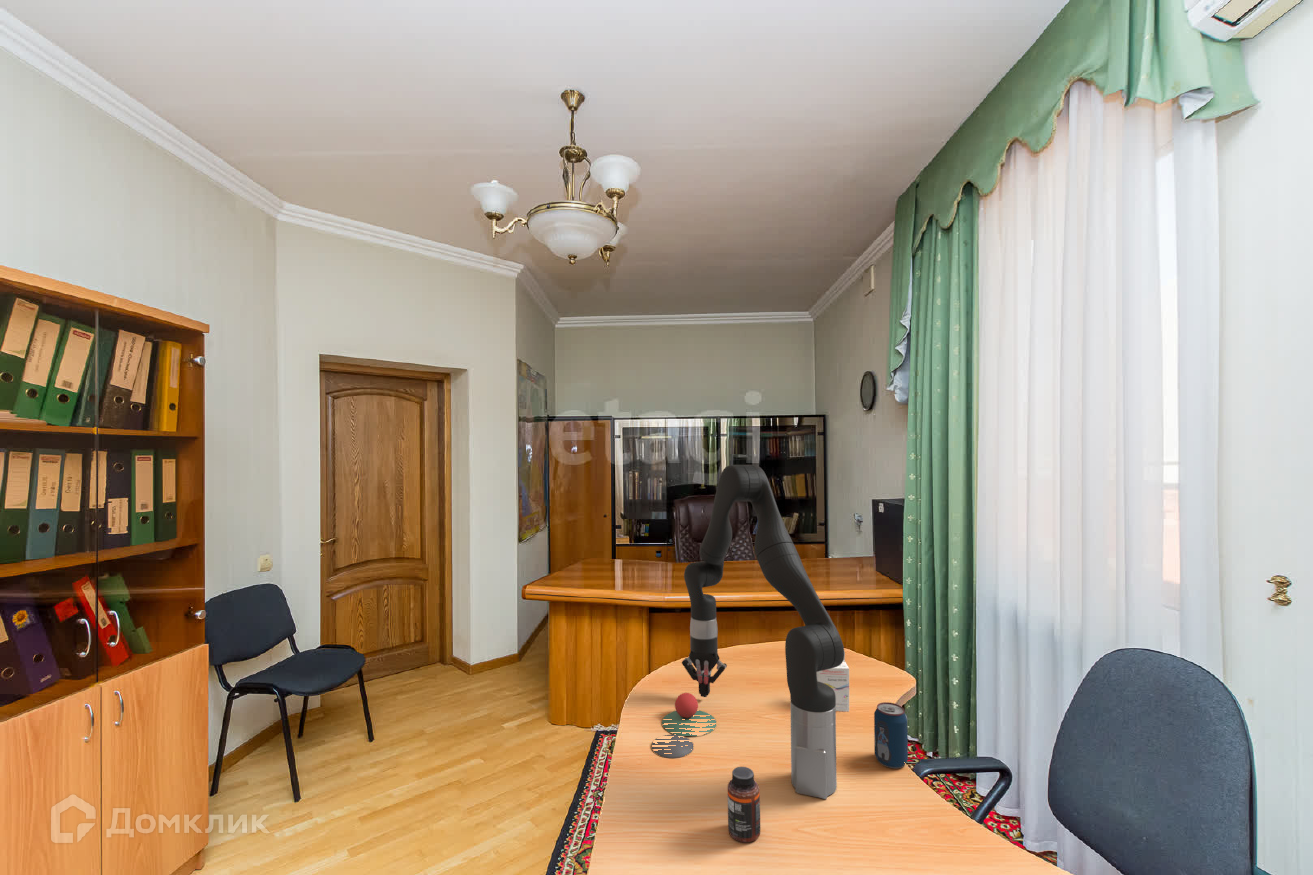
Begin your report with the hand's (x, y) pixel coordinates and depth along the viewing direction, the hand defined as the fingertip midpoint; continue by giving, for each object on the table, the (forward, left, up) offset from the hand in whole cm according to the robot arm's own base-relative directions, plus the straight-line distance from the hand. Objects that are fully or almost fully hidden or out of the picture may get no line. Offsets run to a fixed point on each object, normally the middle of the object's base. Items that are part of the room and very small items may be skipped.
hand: (704, 695), depth 160 cm
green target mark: (-13, 0, -2) cm, 13 cm away
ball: (-10, +2, +2) cm, 10 cm away
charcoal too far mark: (-25, 0, -2) cm, 25 cm away
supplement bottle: (-48, -23, -2) cm, 53 cm away
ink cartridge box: (+9, -33, -2) cm, 34 cm away
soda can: (-13, -48, -2) cm, 50 cm away
